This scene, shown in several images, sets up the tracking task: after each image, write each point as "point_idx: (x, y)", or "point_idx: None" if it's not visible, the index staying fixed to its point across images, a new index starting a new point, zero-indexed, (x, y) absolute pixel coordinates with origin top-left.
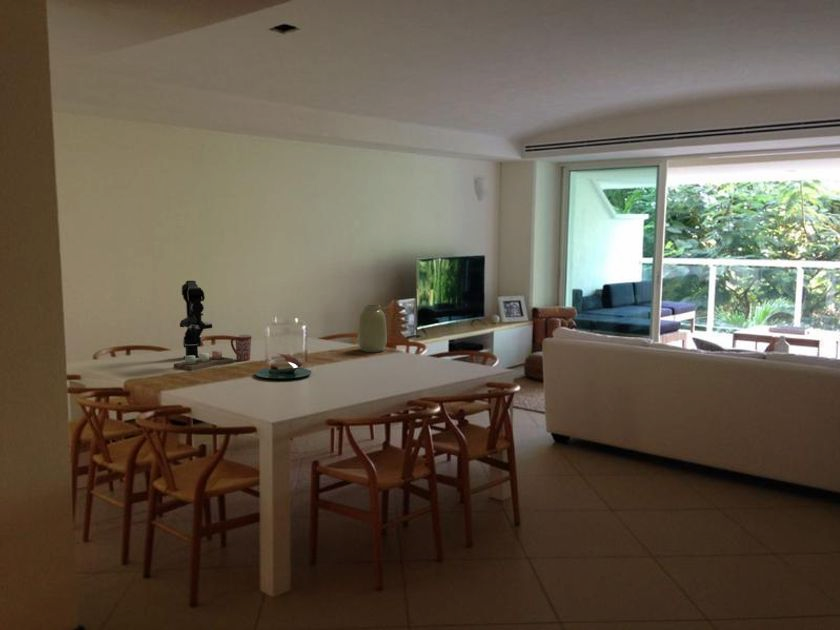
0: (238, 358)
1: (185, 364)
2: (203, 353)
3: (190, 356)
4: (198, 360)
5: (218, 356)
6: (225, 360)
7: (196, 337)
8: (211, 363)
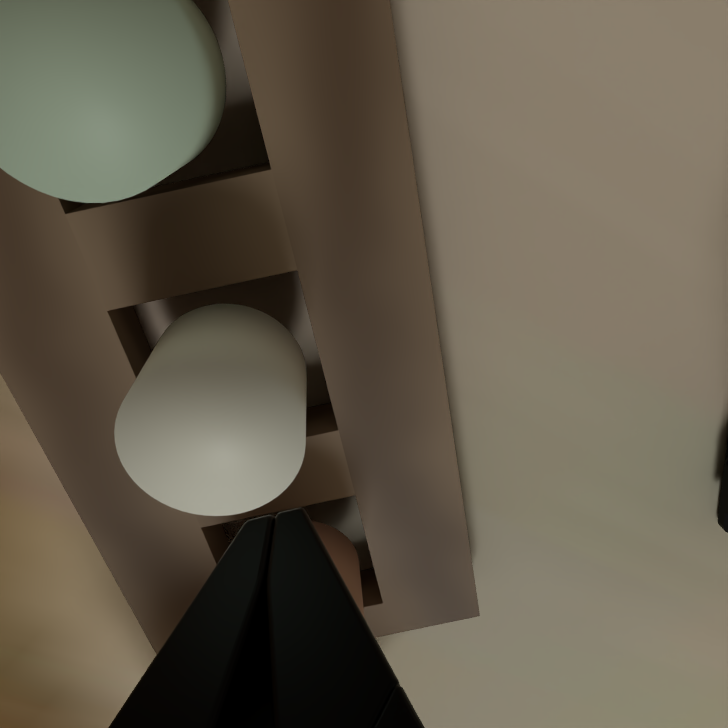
0: None
1: (234, 17)
2: (244, 448)
3: (22, 50)
4: (343, 339)
5: None
6: (122, 590)
7: (165, 654)
8: (10, 382)
